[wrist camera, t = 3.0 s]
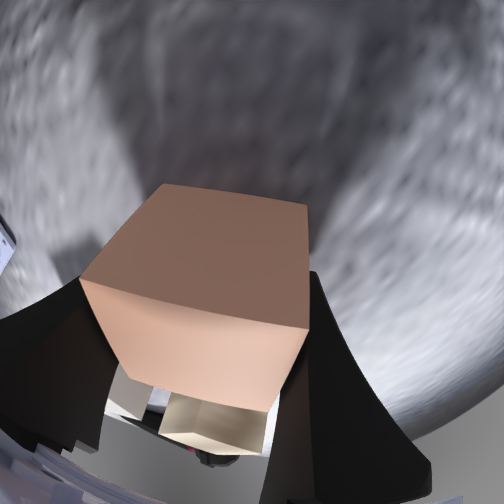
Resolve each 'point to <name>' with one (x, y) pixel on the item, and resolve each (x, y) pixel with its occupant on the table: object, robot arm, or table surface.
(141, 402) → the white block
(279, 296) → the peach block
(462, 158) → the table surface
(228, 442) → the birch block
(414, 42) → the table surface
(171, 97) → the table surface
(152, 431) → the microphone
